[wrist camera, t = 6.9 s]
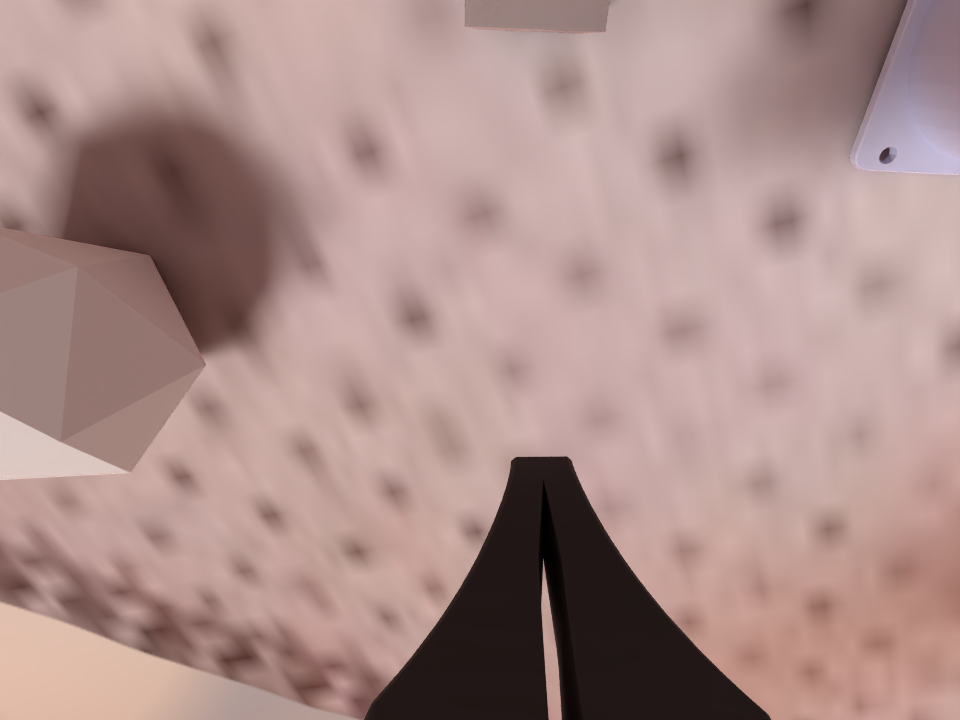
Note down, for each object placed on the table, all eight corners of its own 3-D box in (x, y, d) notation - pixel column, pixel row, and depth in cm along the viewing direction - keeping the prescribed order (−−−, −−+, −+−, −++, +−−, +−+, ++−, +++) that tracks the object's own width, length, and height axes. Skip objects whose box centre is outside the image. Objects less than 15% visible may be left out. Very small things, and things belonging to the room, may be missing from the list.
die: (-2, 168, 20) (-265, 385, 16) (109, 160, 16) (-222, 463, 11) (173, 310, 27) (16, 493, 22) (289, 335, 22) (118, 572, 18)
